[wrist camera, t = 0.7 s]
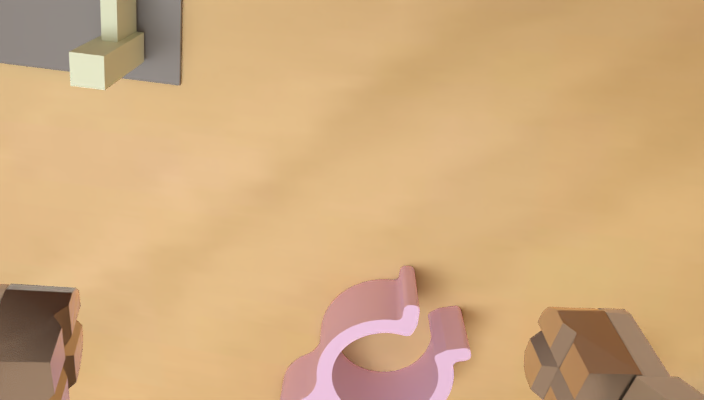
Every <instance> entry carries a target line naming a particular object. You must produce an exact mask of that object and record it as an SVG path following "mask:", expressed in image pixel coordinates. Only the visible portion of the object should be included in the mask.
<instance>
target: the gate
mask: <svg viewBox="0 0 704 400" xmlns="http://www.w3.org/2000/svg"><path fill="white" fill-rule="evenodd" d="M100 9H101V36H99V37H97V38H95V39H93V40H91V41H89V42H87V43H85V44H83V45H81V46H79V47H77V48H75V49H73V50H71V51H69V64H70V84H71V86H77V87H85V88H93V89H101V90H106V89H107V88H108V87H110V86H111V85H113V84H114V83H115V82H117V81H118V80H120V79H121V78H122V77H124V76H125V75H126V74H128V73H129V72H131V71H132V70H133V69H135V68H136V67H138V66H139V65H140V64H142V63H143V62H144V32H137V27H136V0H100Z"/></svg>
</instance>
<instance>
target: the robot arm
mask: <svg viewBox="0 0 704 400" xmlns="http://www.w3.org/2000/svg"><path fill="white" fill-rule="evenodd" d="M80 306H81V305H80V297H79V290H78V289H77V288H70V287H54V286H38V285H22V284H10V285H9V284H0V400H70V399H69V388H70V387H71V386H72V385H74V384H75V383H76V381H77V377H78V373H79V369H80V364H81V357H82V350H83V330H82V324H80V323H79V322H78V321H77V316H78V313H79V309H80ZM538 324H539V326H540V328H541V330H542V331H540V332H539V333H537V334H536V335H535V336H533V337H532V338H530V340H529V342H528V345H527V347H526V350H525V355H524V370H525V375H526V379H527V382H528V384H529V387H530V389H531V390H532V391H533V392H534V393H536V394H537V395H538V396H539V397H540V398H541V399H542V400H704V395H703V394H702V393H700V392H699V391H698V390H696V389H695V388H693V387H692V386H690V385H689V384H688V383H686V382H685V381H683V380H682V379H681V378H679V377H672V376H670V375H669V373H668V372H667V370H666V369H665V367H664V365H663V364H662V362H661V361H660V359H659V358H658V356H657V355H656V353H655V351H654V350H653V348H652V347H651V345H650V344H649V342H648V340H647V339H646V337H645V336H644V334H643V333H642V331H641V329H640V328H639V326H638V325H637V323H636V322H635V320H634V318H633V317H632V315H631V314H630V313H629V312H627V311H626V310H625V309H604V308H599V309H595V308H566V307H548V308H547V309H545V310H544V311H543V312H542V314H541V316H540V318H539V320H538Z"/></svg>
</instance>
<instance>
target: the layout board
mask: <svg viewBox="0 0 704 400" xmlns="http://www.w3.org/2000/svg"><path fill="white" fill-rule="evenodd" d="M136 27H137V32H144V62H143V63H142V64H140V65H139V66H138V67H136V68H135V69H133V70H132V71H131V72H129V73H128V74H126V75H125V76H124V77H122V78H125V79H132V80H140V81H148V82H156V83H164V84H172V85H180V84H181V41H182V0H136ZM99 36H101V9H100V0H0V63H5V64H13V65H21V66H29V67H37V68H45V69H53V70H61V71H69V72H70V64H69V51H71V50H73V49H75V48H77V47H79V46H81V45H83V44H85V43H87V42H89V41H91V40H93V39H95V38H97V37H99Z"/></svg>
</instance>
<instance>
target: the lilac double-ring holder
mask: <svg viewBox="0 0 704 400" xmlns="http://www.w3.org/2000/svg"><path fill="white" fill-rule="evenodd" d="M419 312H420V309H419V302H418V294H417V286H416V278H415V271H414V268H413V267H411V266H403V267H402V268H401V269H400V274H399V277H398V279H396V280H388V279H379V280H371V281H366V282H362V283H359V284H357V285H354V286H352V287H350V288H348V289H347V290H345V291H344V292H342V293H341V294H340V295H339V296H337V297H336V298H335V299H334V300H333V302H332V303H331V304H330V306H329V307H328V309H327V310H326V312H325V315H324V318H323V321H322V326H321V336H320V343H319V345H318V346H317V347H316V349H315V350H313V351H312V352H310V353H309V354H306V355H304V356H302V357H300V358H298V359H296V360H295V361H294V362H293V363H292V364H291V365H290V366H289V367H288V369H287V371H286V373H285V376H284V380H283V386H282V392H281V398H280V400H446V399H447V397H448V396H449V394H450V391H451V388H452V385H453V379H454V370H453V365H454V364H455V363H456V362H459V361H466V360H469V359H470V357H471V352H470V347H469V343H468V339H467V334H466V330H465V325H464V321H463V317H462V312H461V309H460V307H458V306H450V307H442V308H438V309H436V310H433V311H431V312H430V313H429V314H428V318H429V324H430V331H431V341H430V344H429V346H428V348H427V350H426V351H425V353H424V354H423V355H422V356H421V357H420V358H419V359H418V360H417V361H416V362H414V363H413V364H411V365H410V366H408V367H405V368H403V369H400V370H396V371H391V372H376V371H370V370H367V369H364V368H361V367H359V366H357V365H355V364H354V363H352V362H351V361H349V360H348V359H347V358H346V357H345V356H344V355H343V353H342V352H341V351H342V350H343V349H344V348H345V347H346V346H347V345H349V344H350V343H351V342H353V341H355V340H357V339H359V338H361V337H364V336H367V335H370V334H376V333H395V334H400V335H404V336H410V335H411V334H412V333H413V332H414V330H415V328H416V327H417V324H418V318H419Z"/></svg>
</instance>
